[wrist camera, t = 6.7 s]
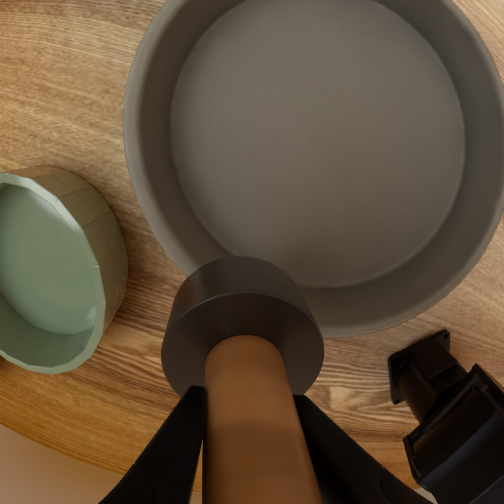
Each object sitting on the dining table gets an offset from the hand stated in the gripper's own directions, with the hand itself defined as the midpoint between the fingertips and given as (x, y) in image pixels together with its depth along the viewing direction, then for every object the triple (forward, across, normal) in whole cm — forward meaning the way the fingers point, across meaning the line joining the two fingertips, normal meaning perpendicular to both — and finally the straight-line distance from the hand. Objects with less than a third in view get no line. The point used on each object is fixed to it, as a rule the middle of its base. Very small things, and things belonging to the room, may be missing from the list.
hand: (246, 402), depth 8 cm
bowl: (+13, +13, +3) cm, 19 cm away
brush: (+4, 0, 0) cm, 5 cm away
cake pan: (+14, -5, -9) cm, 17 cm away
